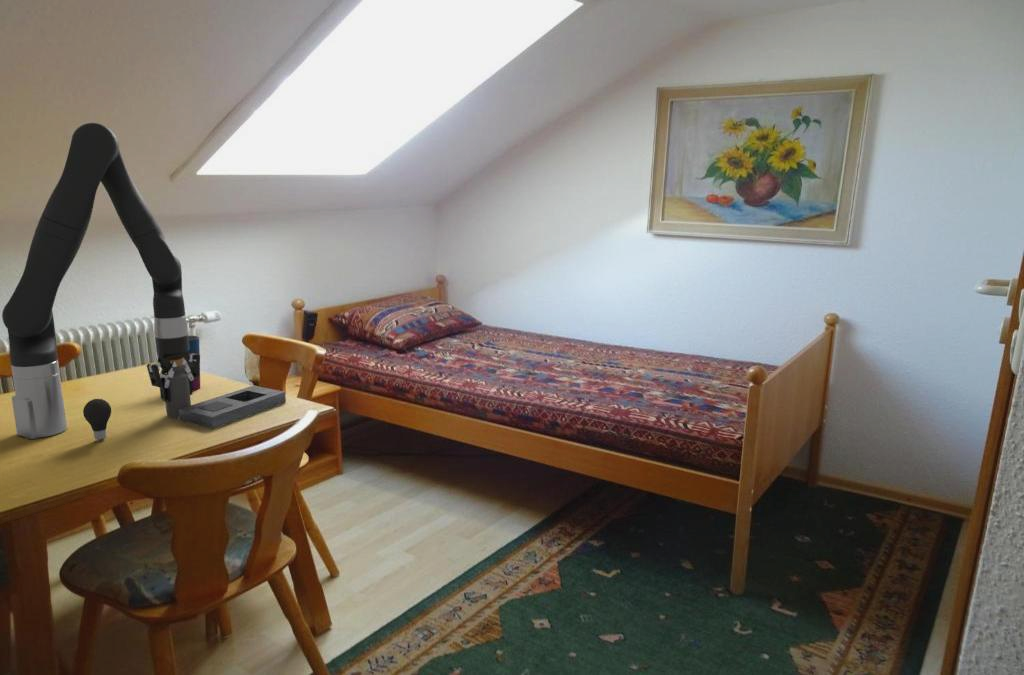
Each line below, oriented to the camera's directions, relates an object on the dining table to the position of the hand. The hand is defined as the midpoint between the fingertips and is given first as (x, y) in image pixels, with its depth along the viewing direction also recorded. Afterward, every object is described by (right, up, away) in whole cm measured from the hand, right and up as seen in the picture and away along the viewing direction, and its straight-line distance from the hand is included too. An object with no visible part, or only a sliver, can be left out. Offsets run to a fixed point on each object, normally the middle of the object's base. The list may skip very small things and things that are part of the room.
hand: (177, 397), depth 183 cm
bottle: (0, -5, +1) cm, 5 cm away
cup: (-7, 0, +23) cm, 25 cm away
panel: (+13, -4, +4) cm, 14 cm away
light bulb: (-10, -9, -17) cm, 22 cm away
